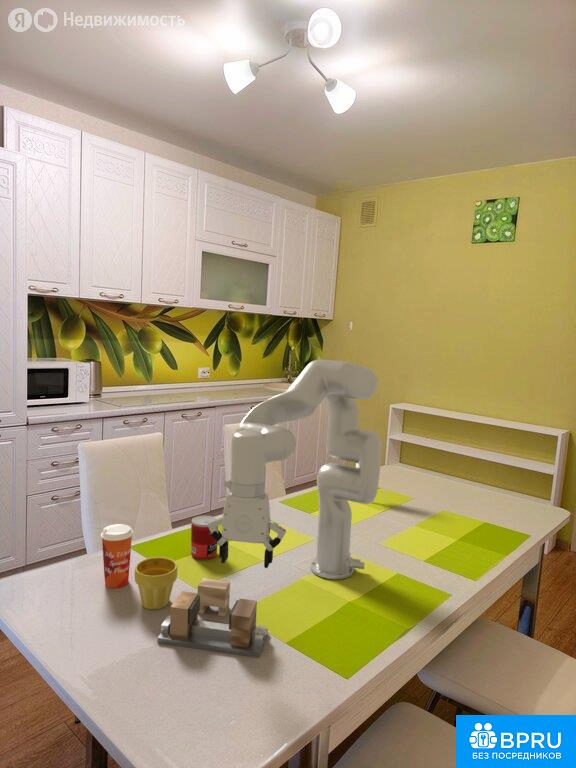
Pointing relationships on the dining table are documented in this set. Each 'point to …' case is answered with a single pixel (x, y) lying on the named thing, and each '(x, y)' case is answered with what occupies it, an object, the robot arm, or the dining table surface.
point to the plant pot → (155, 581)
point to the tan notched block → (214, 595)
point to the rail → (214, 645)
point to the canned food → (202, 538)
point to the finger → (242, 621)
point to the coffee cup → (116, 554)
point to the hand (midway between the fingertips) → (245, 562)
